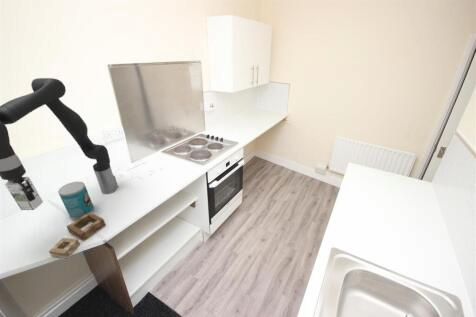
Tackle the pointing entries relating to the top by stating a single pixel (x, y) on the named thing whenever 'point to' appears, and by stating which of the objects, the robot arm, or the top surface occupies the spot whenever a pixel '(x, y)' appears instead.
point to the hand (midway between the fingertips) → (27, 197)
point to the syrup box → (21, 197)
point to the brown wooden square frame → (79, 223)
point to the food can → (76, 199)
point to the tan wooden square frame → (59, 247)
